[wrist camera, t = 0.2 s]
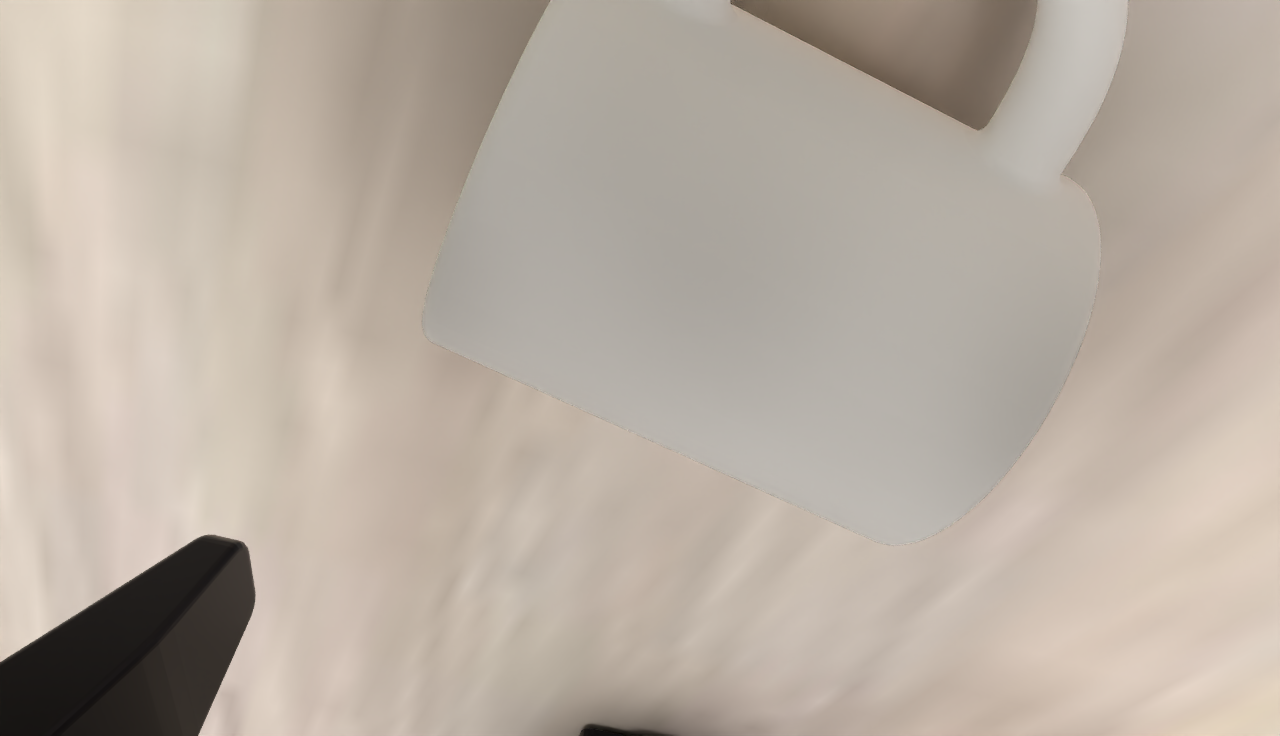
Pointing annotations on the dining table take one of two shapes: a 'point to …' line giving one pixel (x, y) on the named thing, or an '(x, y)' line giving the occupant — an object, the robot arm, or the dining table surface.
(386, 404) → the dining table surface
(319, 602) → the dining table surface
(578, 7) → the mug
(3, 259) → the dining table surface
